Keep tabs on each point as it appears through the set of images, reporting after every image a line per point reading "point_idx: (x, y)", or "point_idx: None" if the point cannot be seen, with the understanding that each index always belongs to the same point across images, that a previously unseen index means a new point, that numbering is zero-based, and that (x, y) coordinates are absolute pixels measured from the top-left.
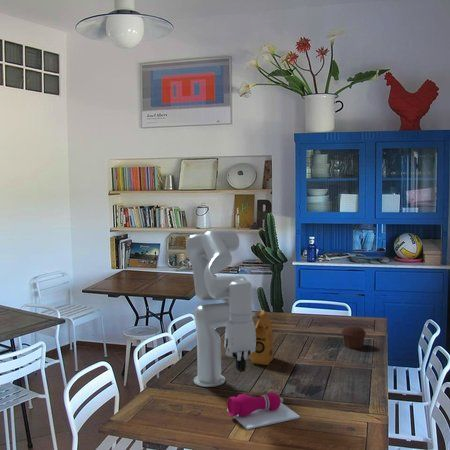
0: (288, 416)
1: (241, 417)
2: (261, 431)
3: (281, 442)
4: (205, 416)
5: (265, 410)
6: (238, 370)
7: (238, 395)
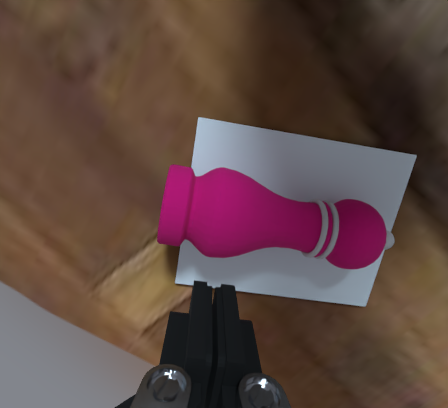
0: (336, 290)
1: None
2: None
3: None
4: (97, 112)
5: None
6: (189, 309)
7: (211, 204)
